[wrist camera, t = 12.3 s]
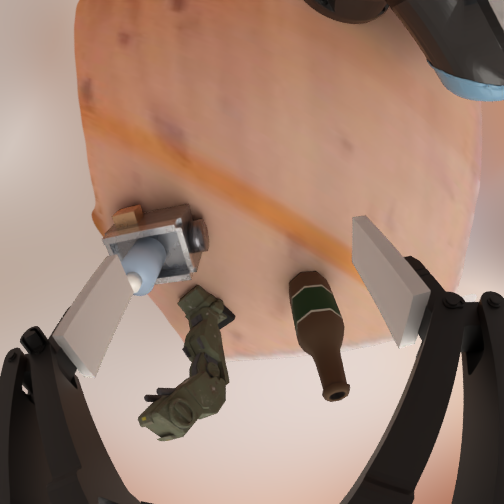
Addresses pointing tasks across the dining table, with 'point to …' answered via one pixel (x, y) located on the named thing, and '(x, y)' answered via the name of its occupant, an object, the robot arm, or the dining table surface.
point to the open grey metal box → (161, 238)
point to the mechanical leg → (194, 371)
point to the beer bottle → (320, 330)
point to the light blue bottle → (144, 264)
